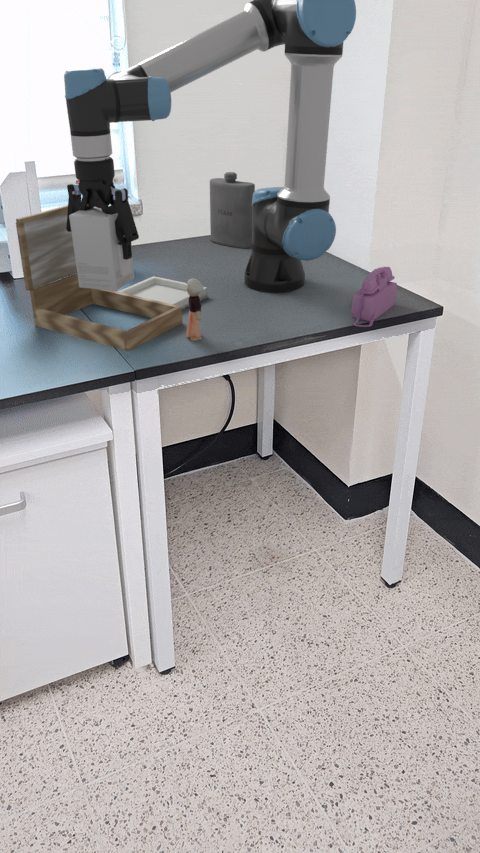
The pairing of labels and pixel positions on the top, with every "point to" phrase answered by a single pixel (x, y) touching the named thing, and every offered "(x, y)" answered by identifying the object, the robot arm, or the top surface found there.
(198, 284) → the grandmother figurine
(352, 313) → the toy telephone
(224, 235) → the flask
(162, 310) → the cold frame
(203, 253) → the top surface
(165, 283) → the tray
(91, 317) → the top surface
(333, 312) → the top surface
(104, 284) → the supplement box
